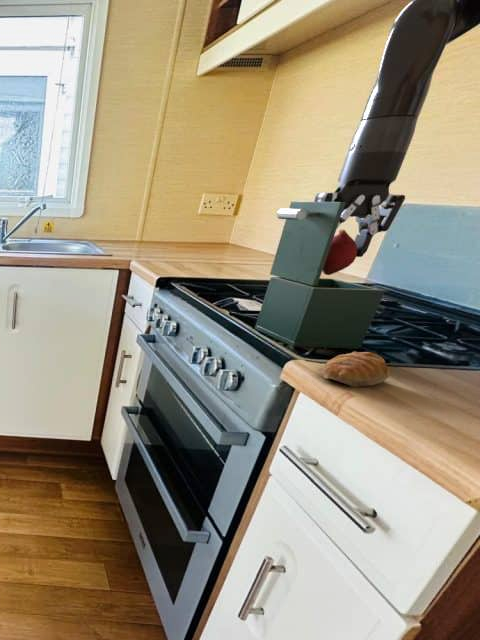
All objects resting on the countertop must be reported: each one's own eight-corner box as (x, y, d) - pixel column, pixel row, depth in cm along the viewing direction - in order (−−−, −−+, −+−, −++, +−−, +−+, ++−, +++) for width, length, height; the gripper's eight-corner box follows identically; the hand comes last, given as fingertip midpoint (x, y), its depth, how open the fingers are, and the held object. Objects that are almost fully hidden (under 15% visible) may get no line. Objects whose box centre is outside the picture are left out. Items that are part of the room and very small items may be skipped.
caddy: (313, 330, 89) (333, 278, 84) (360, 348, 78) (385, 290, 74) (254, 328, 89) (270, 276, 84) (292, 346, 78) (314, 288, 74)
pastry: (361, 393, 59) (372, 368, 58) (307, 376, 64) (316, 353, 63) (388, 381, 63) (399, 358, 62) (335, 367, 69) (344, 345, 67)
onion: (345, 274, 80) (362, 230, 76) (350, 278, 75) (369, 231, 72) (307, 271, 83) (323, 227, 79) (310, 275, 78) (326, 229, 75)
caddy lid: (295, 201, 79) (268, 201, 79) (345, 202, 68) (314, 202, 68) (273, 274, 84) (248, 274, 84) (317, 285, 73) (288, 285, 73)
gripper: (352, 147, 67) (314, 257, 73) (442, 150, 67) (395, 259, 73) (316, 152, 73) (284, 252, 80) (398, 154, 73) (359, 254, 80)
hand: (338, 255), depth 77 cm, fingers closed on onion, 6 cm apart
